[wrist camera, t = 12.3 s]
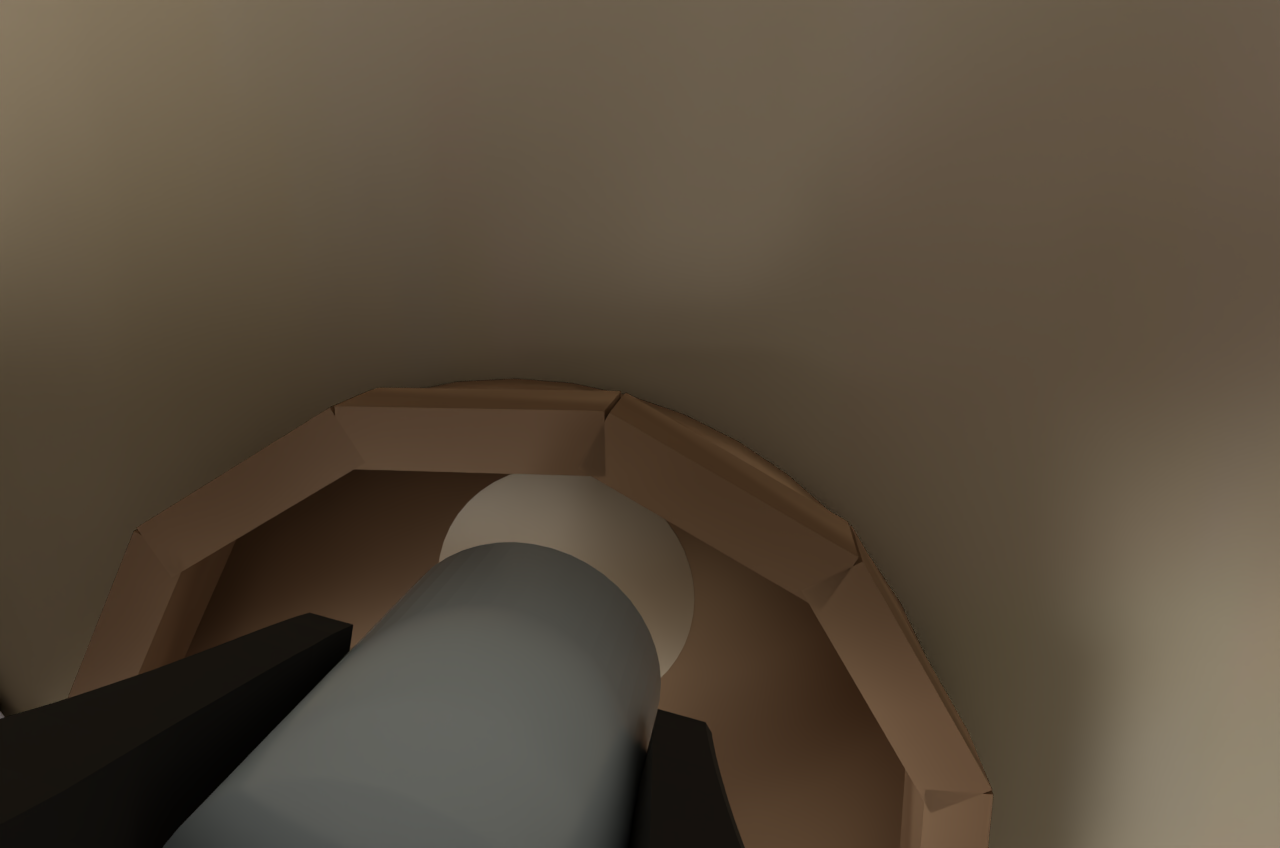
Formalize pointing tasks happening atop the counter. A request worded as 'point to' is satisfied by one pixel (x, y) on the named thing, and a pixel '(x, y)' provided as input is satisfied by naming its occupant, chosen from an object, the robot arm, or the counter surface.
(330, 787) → the slate bead
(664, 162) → the counter surface
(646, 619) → the walnut groove tray
